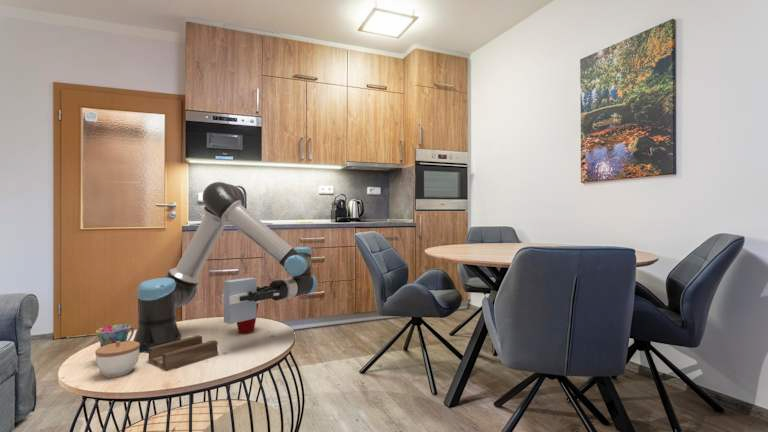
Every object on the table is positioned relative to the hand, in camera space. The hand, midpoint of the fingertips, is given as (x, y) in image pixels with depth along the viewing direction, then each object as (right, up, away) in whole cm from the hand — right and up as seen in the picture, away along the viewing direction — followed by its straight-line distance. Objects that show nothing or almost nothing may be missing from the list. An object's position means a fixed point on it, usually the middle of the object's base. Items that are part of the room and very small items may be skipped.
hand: (226, 299), depth 128 cm
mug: (-33, -19, -5) cm, 39 cm away
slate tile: (+3, -8, +4) cm, 10 cm away
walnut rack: (-12, -18, -5) cm, 22 cm away
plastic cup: (-2, -19, +25) cm, 31 cm away
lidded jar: (-25, -19, -16) cm, 35 cm away
